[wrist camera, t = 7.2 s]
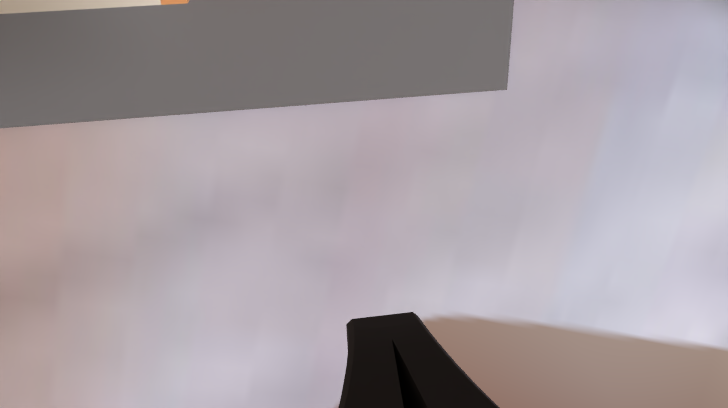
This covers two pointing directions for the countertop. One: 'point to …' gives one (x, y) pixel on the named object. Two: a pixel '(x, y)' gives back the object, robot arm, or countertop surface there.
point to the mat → (245, 56)
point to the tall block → (74, 4)
